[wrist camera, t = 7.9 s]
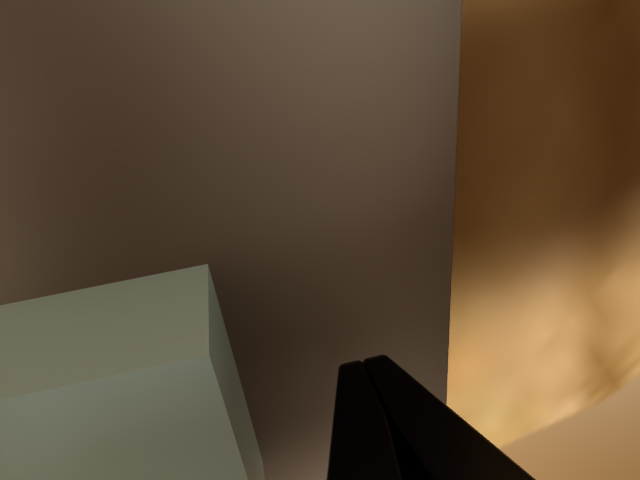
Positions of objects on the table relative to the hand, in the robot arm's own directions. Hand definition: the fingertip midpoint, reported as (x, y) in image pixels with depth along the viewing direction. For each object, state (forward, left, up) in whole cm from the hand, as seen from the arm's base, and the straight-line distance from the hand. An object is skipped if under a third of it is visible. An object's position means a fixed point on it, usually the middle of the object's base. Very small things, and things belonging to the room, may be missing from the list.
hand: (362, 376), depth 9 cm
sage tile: (+5, 0, -1) cm, 5 cm away
